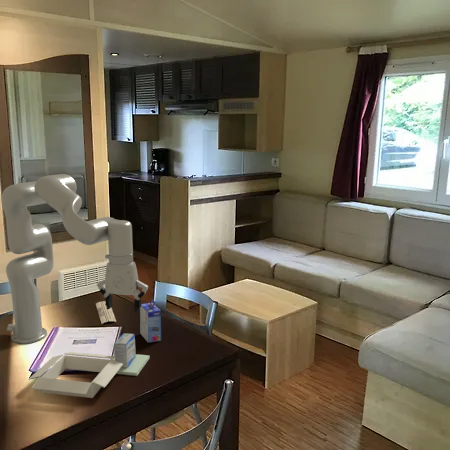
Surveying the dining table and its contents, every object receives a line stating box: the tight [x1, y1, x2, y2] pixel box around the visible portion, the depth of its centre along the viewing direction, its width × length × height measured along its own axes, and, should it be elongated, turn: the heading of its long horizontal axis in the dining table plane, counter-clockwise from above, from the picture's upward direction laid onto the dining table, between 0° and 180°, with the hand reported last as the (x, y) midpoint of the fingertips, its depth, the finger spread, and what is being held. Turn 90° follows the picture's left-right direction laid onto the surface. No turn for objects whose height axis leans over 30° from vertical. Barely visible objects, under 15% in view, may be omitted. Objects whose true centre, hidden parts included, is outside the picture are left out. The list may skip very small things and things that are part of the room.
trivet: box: [110, 353, 151, 377], centre depth 160 cm, size 12×12×1 cm
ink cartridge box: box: [139, 299, 162, 344], centre depth 180 cm, size 10×6×14 cm, turn 27°
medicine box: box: [113, 333, 136, 368], centre depth 160 cm, size 8×4×9 cm, turn 170°
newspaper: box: [95, 301, 117, 325], centre depth 204 cm, size 24×7×2 cm, turn 21°
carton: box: [28, 351, 123, 399], centre depth 149 cm, size 25×23×5 cm
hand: (123, 308), depth 156 cm, fingers open, 9 cm apart
